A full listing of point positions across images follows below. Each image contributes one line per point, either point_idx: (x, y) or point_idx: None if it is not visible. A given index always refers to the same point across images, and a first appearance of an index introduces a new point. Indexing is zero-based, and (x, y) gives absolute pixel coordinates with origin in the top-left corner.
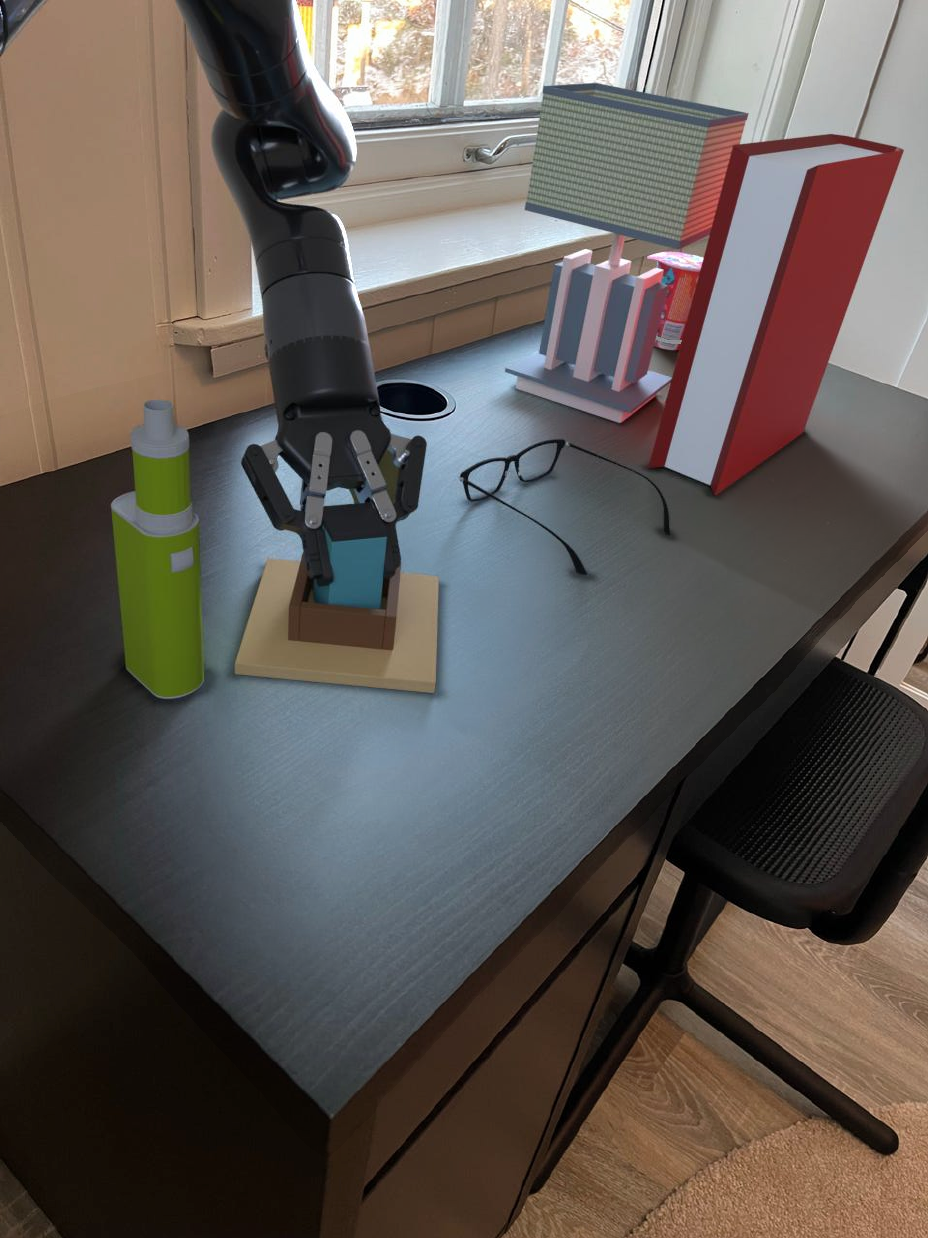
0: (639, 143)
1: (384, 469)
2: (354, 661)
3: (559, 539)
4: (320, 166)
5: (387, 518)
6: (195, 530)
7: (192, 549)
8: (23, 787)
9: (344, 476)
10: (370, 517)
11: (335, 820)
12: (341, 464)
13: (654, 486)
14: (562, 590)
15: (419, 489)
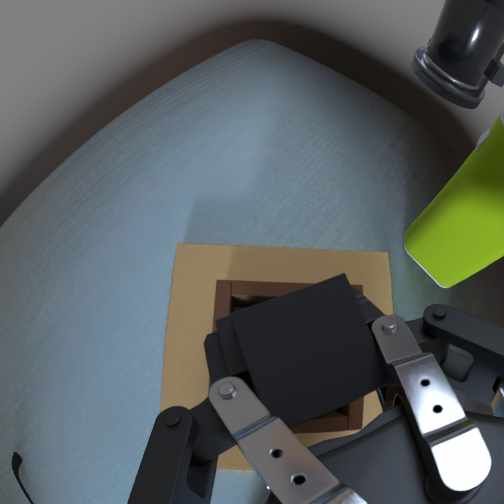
0: None
1: None
2: (267, 269)
3: (19, 481)
4: None
5: (229, 381)
6: (499, 127)
7: (487, 136)
8: (448, 148)
9: (358, 438)
10: (270, 362)
11: (268, 119)
12: (377, 461)
13: None
14: (34, 433)
15: (145, 453)
